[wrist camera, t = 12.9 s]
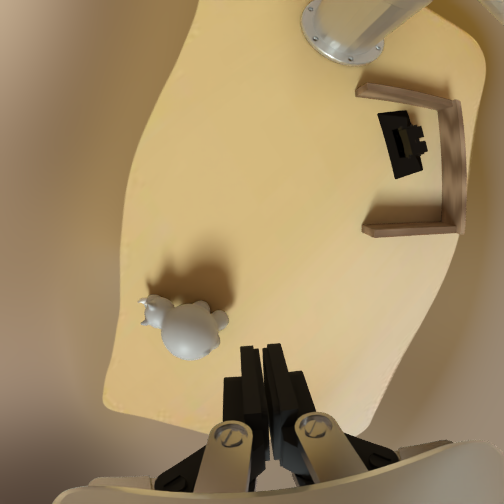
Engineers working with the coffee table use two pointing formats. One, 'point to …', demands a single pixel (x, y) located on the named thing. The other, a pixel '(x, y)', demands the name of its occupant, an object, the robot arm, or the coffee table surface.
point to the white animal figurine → (185, 326)
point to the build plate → (402, 142)
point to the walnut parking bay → (451, 162)
